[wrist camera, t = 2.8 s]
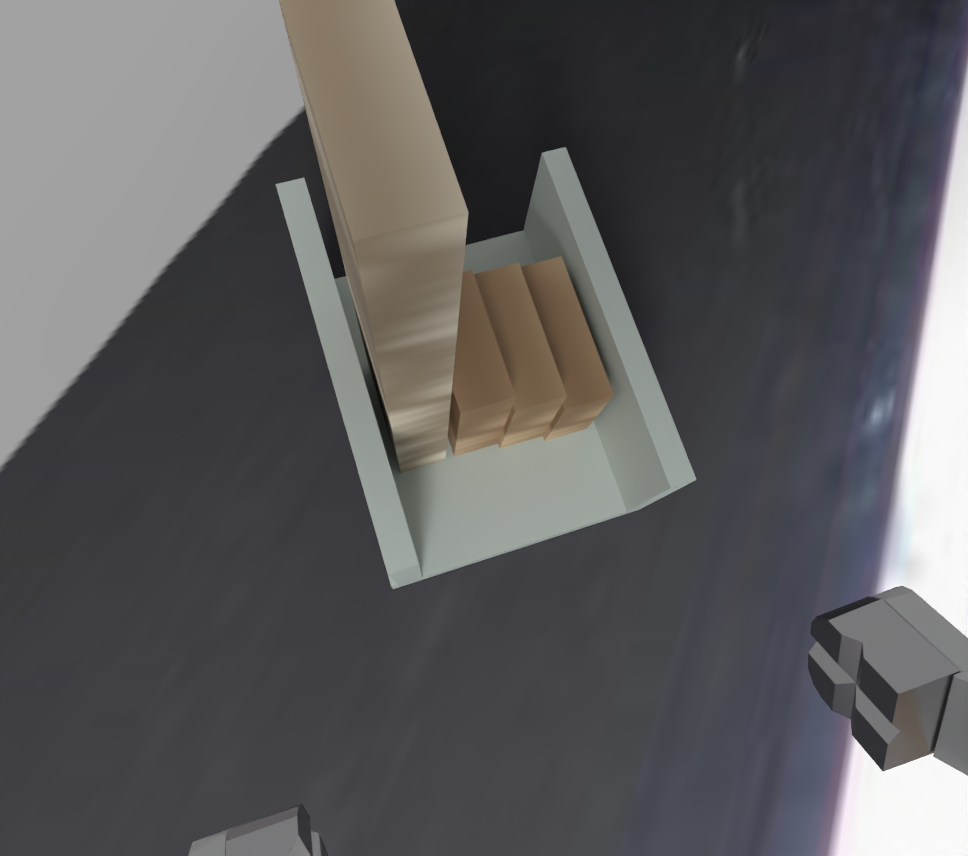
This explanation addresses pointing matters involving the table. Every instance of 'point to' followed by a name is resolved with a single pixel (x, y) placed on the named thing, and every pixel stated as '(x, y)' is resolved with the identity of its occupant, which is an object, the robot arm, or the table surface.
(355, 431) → the offcut rack
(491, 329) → the offcut stack
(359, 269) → the birch board
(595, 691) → the table surface
